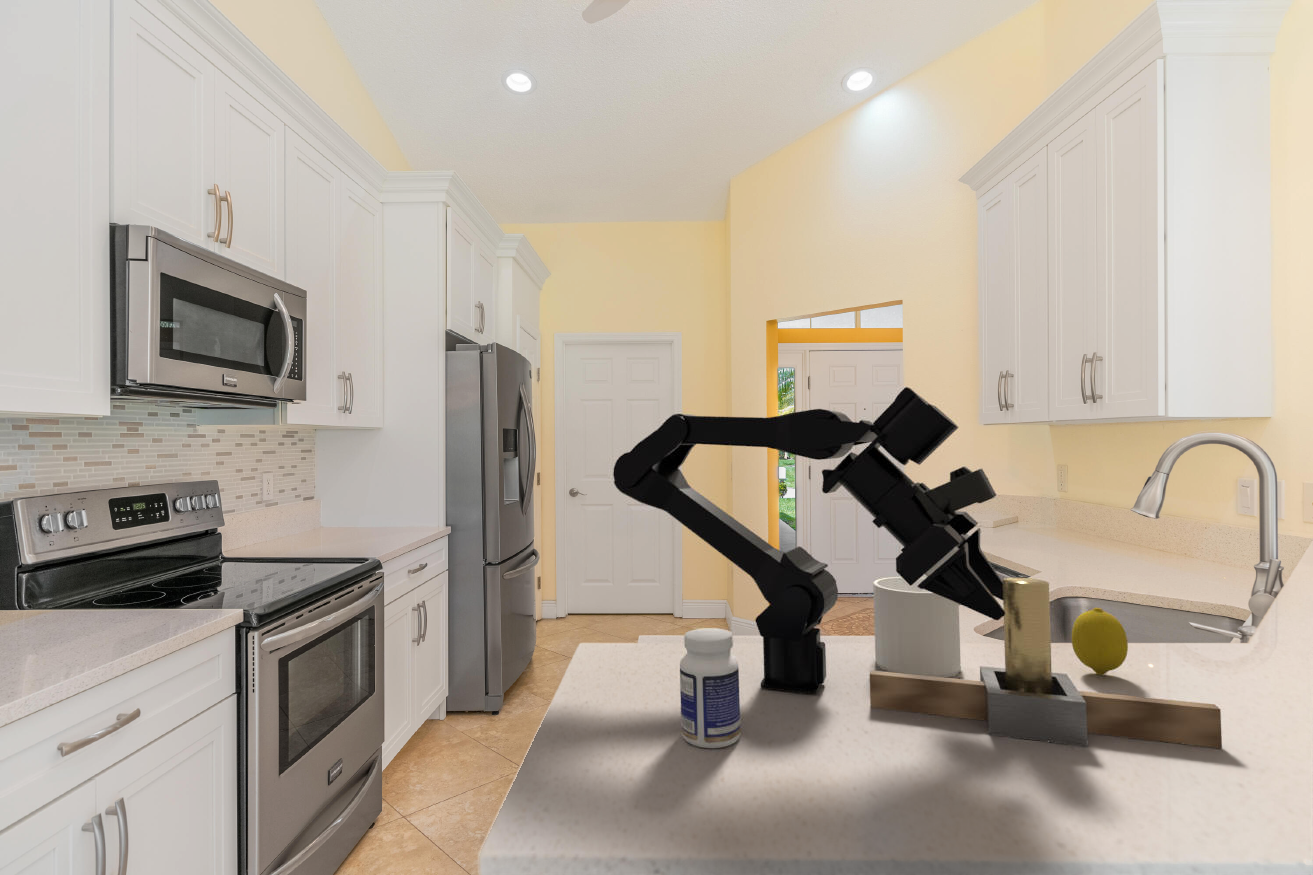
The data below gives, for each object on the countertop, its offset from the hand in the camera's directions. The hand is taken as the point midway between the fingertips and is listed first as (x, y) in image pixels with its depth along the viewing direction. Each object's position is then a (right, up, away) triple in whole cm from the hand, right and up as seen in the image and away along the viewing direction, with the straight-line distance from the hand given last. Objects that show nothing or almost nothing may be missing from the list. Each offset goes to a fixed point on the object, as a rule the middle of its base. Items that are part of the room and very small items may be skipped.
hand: (1004, 606), depth 65 cm
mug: (-3, -12, +18) cm, 22 cm away
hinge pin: (+2, -11, -1) cm, 11 cm away
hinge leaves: (+2, -11, -1) cm, 11 cm away
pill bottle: (-30, -12, -3) cm, 32 cm away
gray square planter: (+2, -11, -1) cm, 11 cm away
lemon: (+18, -11, +12) cm, 24 cm away
